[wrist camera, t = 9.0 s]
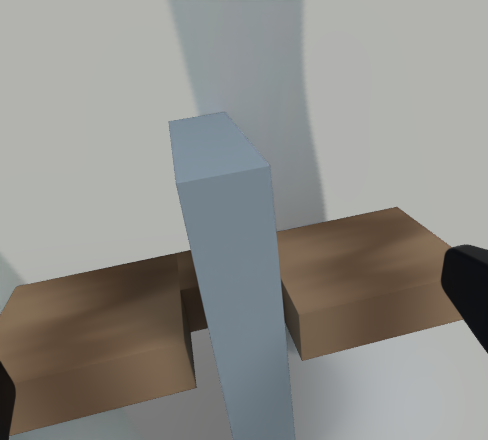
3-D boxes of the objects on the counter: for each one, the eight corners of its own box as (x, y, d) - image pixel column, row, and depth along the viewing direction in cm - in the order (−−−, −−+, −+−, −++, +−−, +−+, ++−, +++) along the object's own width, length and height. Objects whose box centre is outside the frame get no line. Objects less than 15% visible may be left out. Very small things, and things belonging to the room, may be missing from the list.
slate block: (259, 353, 19) (299, 478, 14) (220, 362, 19) (245, 493, 13) (225, 111, 13) (270, 165, 8) (168, 121, 13) (176, 183, 8)
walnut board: (397, 206, 16) (483, 270, 12) (393, 245, 17) (472, 317, 13) (16, 286, 14) (-46, 397, 10) (35, 324, 15) (-13, 441, 11)
